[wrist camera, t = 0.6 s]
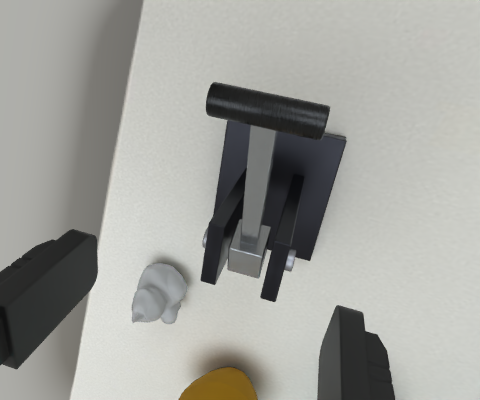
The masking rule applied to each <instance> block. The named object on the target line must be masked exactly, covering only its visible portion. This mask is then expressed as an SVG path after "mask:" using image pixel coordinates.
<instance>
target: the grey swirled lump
mask: <svg viewBox="0 0 480 400" xmlns="http://www.w3.org/2000/svg"><path fill="white" fill-rule="evenodd" d="M187 289H188V287H187V284H186V282H185V280H184V278H183V277H182V275H181V274H180V273H179V272H178V271H177V270H176V269H175V268H174V267H172V266H170V265H167V264H162V263H157V264H152V265H149V266H147V267H146V268H145V270H144V271H143V273H142V275H141V277H140V280H139V283H138V287H137V291H136V292H135V295H134V298H133V303H132V322H133V323H134V322H152V321H156V320H158V319H159V318H161V319H162V321H163V322H164V323H166V324H172V323H174V322H175V321H176V318H177V314H178V310H179V309H180V307H181V304H180V300H181V299H183V298H184V296H185V294H186V292H187Z"/></svg>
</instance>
